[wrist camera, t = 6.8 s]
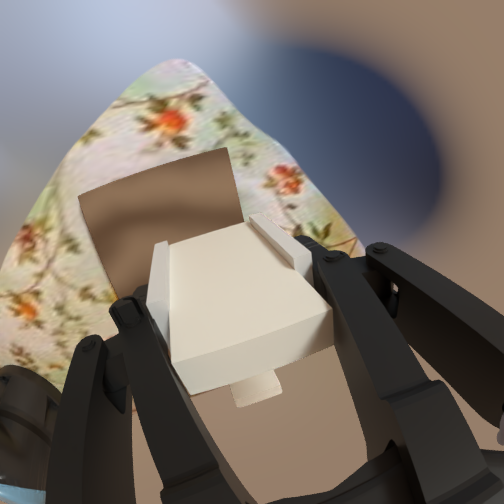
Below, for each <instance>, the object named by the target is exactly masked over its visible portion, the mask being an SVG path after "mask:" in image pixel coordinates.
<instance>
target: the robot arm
mask: <svg viewBox="0 0 504 504" xmlns="http://www.w3.org/2000/svg"><path fill="white" fill-rule="evenodd" d="M249 219H250V223H251V225H252V226H253V227H254V228H255V229H256V230H257V231H258V232H259V233H260V234H261V235H262V236H263V237H264V238H265V239H266V240H267V241H268V242H269V244H270V245H271V246H272V247H273V248H274V249H275V250H276V251H277V252H278V253H279V254H280V255H281V256H282V257H283V258H284V259H285V260H286V261H287V262H288V263H289V264H290V265H291V267H292V268H293V269H294V270H296V271H297V272H298V273H299V274H300V275H301V276H302V277H303V278H304V279H305V280H306V281H307V282H308V283H309V284H310V285H311V286H312V287H313V288H314V289H315V291H316V292H317V293H318V294H319V295H320V296H321V297H322V298H323V299H324V300H325V301H326V302H327V303H328V304H329V305H330V306H331V307H332V309H333V332H334V346H335V349H336V351H337V354H338V357H339V360H340V363H341V366H342V369H343V372H344V375H345V378H346V381H347V384H348V387H349V390H350V393H351V396H352V399H353V402H354V405H355V408H356V411H357V414H358V418H359V421H360V424H361V427H362V430H363V434H364V437H365V441H366V446H367V459H368V462H366V463H365V464H364V465H363V466H362V467H360V468H359V469H358V470H357V471H356V472H355V473H353V474H352V475H351V476H349V477H348V478H347V479H346V480H344V481H343V482H342V483H341V484H339V485H338V486H337V487H335V488H334V489H333V490H330V491H327V492H323V493H317V494H312V495H305V496H300V497H291V498H283V499H280V500H277V501H273V502H270V503H267V504H504V451H495V450H484V449H480V448H479V446H478V444H477V442H476V440H475V438H474V436H473V434H472V431H471V430H470V427H469V425H468V424H467V422H466V420H465V418H464V416H463V414H462V412H461V410H460V408H459V406H458V405H457V403H456V401H455V399H454V397H453V396H452V394H451V392H450V390H449V389H448V387H447V386H446V385H445V383H444V382H443V381H441V380H434V381H431V380H429V378H428V377H427V375H426V374H425V373H424V370H423V369H422V367H421V365H420V363H419V362H418V360H417V358H416V357H415V355H414V353H413V351H412V350H411V348H410V347H409V345H410V346H411V347H412V348H413V349H414V350H415V351H416V352H417V353H418V354H419V355H420V356H422V358H423V359H425V360H426V361H427V362H428V363H429V364H430V365H431V366H432V367H433V368H434V369H435V370H436V371H437V372H438V373H439V374H440V375H441V376H442V377H443V378H444V379H445V380H446V381H447V382H448V383H449V384H450V385H451V387H453V388H454V390H455V391H456V392H457V393H458V394H459V395H460V396H461V397H462V398H463V399H464V400H465V401H466V402H467V403H468V404H469V405H470V406H471V407H472V408H473V409H474V410H475V411H476V412H477V413H478V414H479V415H480V416H481V417H482V418H484V419H485V420H486V421H488V422H489V423H490V424H492V425H493V426H495V427H497V428H499V429H500V431H499V432H498V434H497V441H498V443H499V444H500V445H504V316H503V315H502V314H500V313H499V312H497V311H496V310H495V309H493V308H492V307H490V306H489V305H487V304H486V303H484V302H483V301H482V300H480V299H479V298H477V297H476V296H474V295H473V294H471V293H470V292H468V291H467V290H465V289H464V288H462V287H460V286H459V285H457V284H456V283H454V282H452V281H451V280H450V279H448V278H446V277H445V276H443V275H442V274H440V273H438V272H437V271H435V270H434V269H432V268H430V267H429V266H427V265H425V264H424V263H422V262H420V261H419V260H417V259H415V258H413V257H412V256H410V255H408V254H406V253H405V252H403V251H401V250H400V249H398V248H396V247H394V246H392V245H390V244H387V243H383V242H377V243H374V244H371V245H369V246H367V247H366V249H365V252H366V256H362V257H356V258H350V257H349V256H348V254H346V253H345V252H343V251H337V250H333V251H328V250H327V249H325V248H324V247H323V246H321V245H320V244H319V243H317V242H316V241H314V240H313V239H312V238H310V237H308V236H304V235H300V236H296V237H292V236H291V235H289V234H288V233H287V232H285V231H284V230H283V229H282V228H280V227H279V226H278V225H277V224H275V223H274V222H273V221H272V220H270V219H269V218H268V217H266V216H265V215H264V214H263V213H261V212H260V213H256V214H253V215H249ZM394 284H395V285H396V286H397V287H398V292H396V291H395V290H394V289H393V286H394ZM169 311H170V248H169V245H168V242H167V240H166V241H163V242H160V243H157V244H155V246H154V252H153V258H152V265H151V271H150V278H149V283H148V284H145V285H142V286H138V287H137V288H136V290H135V291H134V292H133V295H129V296H125V297H122V298H121V299H119V300H117V301H116V302H114V303H113V304H112V305H111V307H110V308H109V313H110V315H111V317H112V319H113V321H114V322H115V324H116V326H117V328H118V331H119V333H118V334H117V335H115V336H114V337H112V338H110V339H108V340H106V341H103V339H102V338H101V336H100V335H96V334H95V335H90V336H87V337H85V338H83V339H82V340H81V341H80V342H79V343H78V344H77V346H76V348H75V351H74V354H73V357H72V360H71V364H70V367H69V370H68V374H67V377H66V381H65V384H64V388H63V392H62V394H61V393H60V392H59V391H58V390H57V389H56V388H55V387H54V386H53V385H52V384H51V383H49V382H48V381H47V380H45V379H44V378H43V377H41V376H40V375H38V374H36V373H34V372H32V371H30V370H28V369H26V368H23V367H20V366H16V365H6V366H3V367H2V368H1V369H0V500H1V501H3V502H6V503H8V504H136V498H135V488H134V476H133V458H132V395H133V399H134V403H135V406H136V410H137V413H138V416H139V420H140V423H141V426H142V429H143V432H144V435H145V438H146V441H147V444H148V447H149V449H150V452H151V455H152V457H153V460H154V463H155V465H156V468H157V470H158V473H159V475H160V478H161V480H162V482H163V487H164V488H163V490H162V491H161V492H160V498H161V501H162V504H258V503H257V502H256V501H255V500H254V499H253V497H252V496H251V495H250V494H249V493H248V491H247V490H246V489H245V487H244V486H243V485H242V483H241V482H240V480H239V479H238V477H237V476H236V474H235V473H234V471H233V470H232V468H231V467H230V465H229V464H228V462H227V461H226V459H225V458H224V456H223V454H222V453H221V451H220V450H219V448H218V446H217V445H216V443H215V442H214V440H213V438H212V436H211V435H210V433H209V431H208V430H207V428H206V426H205V424H204V423H203V421H202V419H201V417H200V416H199V414H198V412H197V410H196V408H195V406H194V405H193V403H192V401H191V399H190V397H189V395H188V393H187V391H186V389H185V387H184V385H183V383H182V381H181V379H180V377H179V375H178V374H177V372H176V370H175V369H174V367H173V365H172V363H171V359H170V357H169V355H168V349H169V351H170V353H171V347H170V322H169ZM408 344H409V345H408Z"/></svg>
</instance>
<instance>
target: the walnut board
mask: <svg viewBox="0 0 504 504" xmlns="http://www.w3.org/2000/svg"><path fill="white" fill-rule="evenodd" d="M78 199H79V202H80V205H81V208H82V211H83V214H84V217H85V220H86V223H87V225H88V228H89V231H90V233H91V236H92V239H93V241H94V244H95V246H96V249H97V251H98V254H99V256H100V258H101V261H102V263H103V265H104V268H105V270H106V272H107V274H108V277H109V279H110V281H111V283H112V285H113V287H114V290H115V292H116V294H117V296H118V298H119V299H121V298H122V297H125V296H129V295H133V292H134V291H135V290H136V288H137V287H138V286H142V285H145V284H148V283H149V278H150V271H151V265H152V258H153V252H154V246H155V244H157V243H160V242H163V241H166V240H167V242H168V245H171V244H174V243H177V242H180V241H183V240H187V239H190V238H193V237H196V236H200V235H203V234H206V233H209V232H213V231H216V230H219V229H223V228H226V227H229V226H233V225H236V224H239V223H243V222H244V219H243V214H242V210H241V206H240V201H239V197H238V193H237V188H236V184H235V180H234V176H233V171H232V167H231V163H230V158H229V154H228V150H227V147H224V148H220V149H216V150H212V151H208V152H204V153H201V154H197V155H193V156H190V157H186V158H183V159H179V160H176V161H173V162H169V163H166V164H163V165H160V166H157V167H154V168H150V169H147V170H144V171H141V172H139V173H136V174H133V175H130V176H127V177H124V178H122V179H119V180H116V181H113V182H111V183H108V184H106V185H103V186H100V187H98V188H95V189H93V190H91V191H88V192H86V193H83V194H81V195H79V196H78ZM168 355H169V357H170V359H171V353H170V351H169V349H168Z"/></svg>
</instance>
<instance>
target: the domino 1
mask: <svg viewBox="0 0 504 504" xmlns="http://www.w3.org/2000/svg"><path fill="white" fill-rule="evenodd" d="M169 248H170V311H169V322H170V347H171V363H172V365H173V367H174V369H175V370H176V372H177V374H178V375H179V377H180V379H181V380H182V382H183V384H184V385H185V387H186V388H187V390H188V392H189V393H190V395H193V394H197V393H201V392H204V391H208V390H212V389H215V388H218V387H222V386H225V385H228V384H232V383H235V382H238V381H241V380H244V379H247V378H250V377H253V376H256V375H259V374H262V373H265V372H268V371H270V370H273V369H276V368H279V367H281V366H283V365H286V364H289V363H291V362H294V361H296V360H299V359H302V358H304V357H307V356H309V355H311V354H314V353H316V352H318V351H321V350H323V349H325V348H328V347H330V346H332V345H334V332H333V309H332V307H331V306H330V305H329V304H328V303H327V302H326V301H325V300H324V299H323V298H322V297H321V296H320V295H319V294H318V293H317V292H316V291H315V289H314V288H313V287H312V286H311V285H310V284H309V283H308V282H307V281H306V280H305V279H304V278H303V277H302V276H301V275H300V274H299V273H298V272H297V271H296V270H294V269H293V268H292V267H291V265H290V264H289V263H288V262H287V261H286V260H285V259H284V258H283V257H282V256H281V255H280V254H279V253H278V252H277V251H276V250H275V249H274V248H273V247H272V246H271V245H270V244H269V242H268V241H267V240H266V239H265V238H264V237H263V236H262V235H261V234H260V233H259V232H258V231H257V230H256V229H255V228H254V227H253V226H252V225H251V223H250V222H249V221H246V222H243V223H239V224H236V225H233V226H229V227H226V228H223V229H219V230H216V231H213V232H209V233H206V234H203V235H200V236H196V237H193V238H190V239H187V240H183V241H180V242H177V243H174V244H171V245H169Z"/></svg>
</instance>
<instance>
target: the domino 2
mask: <svg viewBox="0 0 504 504" xmlns="http://www.w3.org/2000/svg"><path fill="white" fill-rule="evenodd" d="M229 385H230V389H231V392H232V395H233V397H234V401H235V403H236V405H237V407H238V408H240V407H243V406H247V405H250V404H253V403H256V402H258V401H261V400H264V399H267V398H270V397H273V396H275V395H278V394H281V393H282V389H281V385H280V383H279V381H278V379H277V377H276V375H275V373H274V370H270V371H268V372H265V373H262V374H259V375H256V376H253V377H250V378H247V379H244V380H241V381H238V382H235V383H232V384H229Z"/></svg>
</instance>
